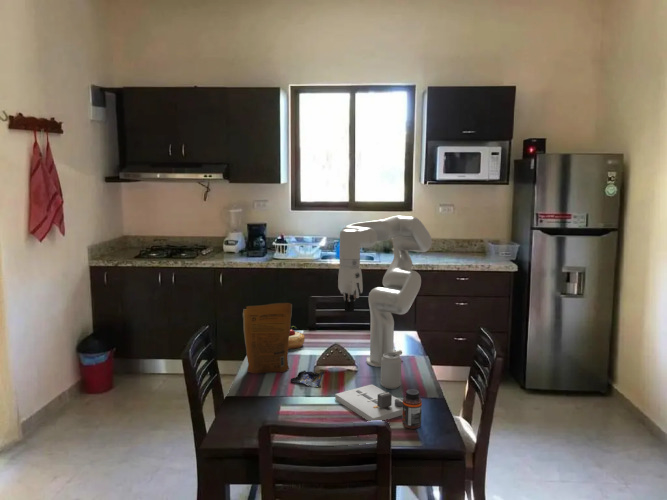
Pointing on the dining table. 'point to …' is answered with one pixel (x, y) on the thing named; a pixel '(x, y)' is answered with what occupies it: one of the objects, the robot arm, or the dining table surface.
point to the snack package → (308, 377)
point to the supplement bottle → (412, 409)
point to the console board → (369, 403)
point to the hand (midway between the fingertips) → (349, 311)
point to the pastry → (295, 339)
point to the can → (391, 370)
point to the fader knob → (384, 400)
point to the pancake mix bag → (267, 337)
